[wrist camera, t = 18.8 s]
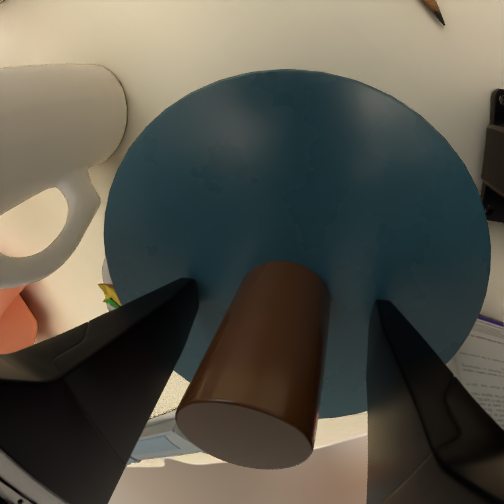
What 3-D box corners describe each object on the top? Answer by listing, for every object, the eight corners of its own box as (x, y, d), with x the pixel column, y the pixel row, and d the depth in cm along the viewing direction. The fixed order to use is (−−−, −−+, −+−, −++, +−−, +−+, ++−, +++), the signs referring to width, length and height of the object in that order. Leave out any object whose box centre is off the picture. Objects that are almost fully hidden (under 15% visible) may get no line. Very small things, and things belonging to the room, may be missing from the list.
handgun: (35, 405, 34) (111, 470, 36) (84, 361, 22) (211, 465, 25) (48, 390, 37) (121, 454, 39) (106, 337, 25) (222, 438, 28)
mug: (40, 104, 16) (-116, 159, 6) (102, 37, 13) (-99, 52, 3) (105, 229, 19) (-35, 347, 9) (181, 183, 16) (-4, 327, 6)
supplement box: (435, 299, 16) (478, 492, 6) (504, 320, 15) (558, 477, 5) (391, 366, 19) (392, 533, 9) (458, 380, 18) (478, 524, 8)
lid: (507, 105, 6) (660, 151, 1) (416, 406, 11) (421, 523, 6) (100, 93, 8) (-56, 130, 4) (156, 370, 14) (100, 463, 9)
